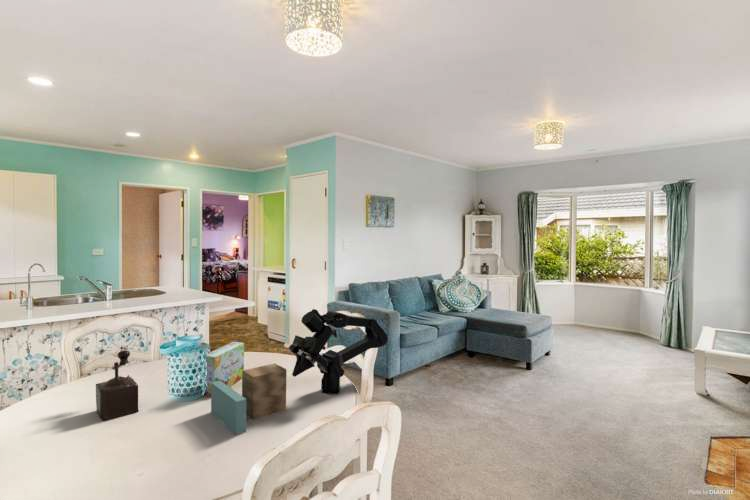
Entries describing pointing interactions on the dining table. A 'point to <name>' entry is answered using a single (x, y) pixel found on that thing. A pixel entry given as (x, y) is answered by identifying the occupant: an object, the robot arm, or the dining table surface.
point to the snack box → (225, 365)
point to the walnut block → (264, 390)
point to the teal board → (228, 407)
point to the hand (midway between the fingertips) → (293, 375)
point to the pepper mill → (117, 393)
